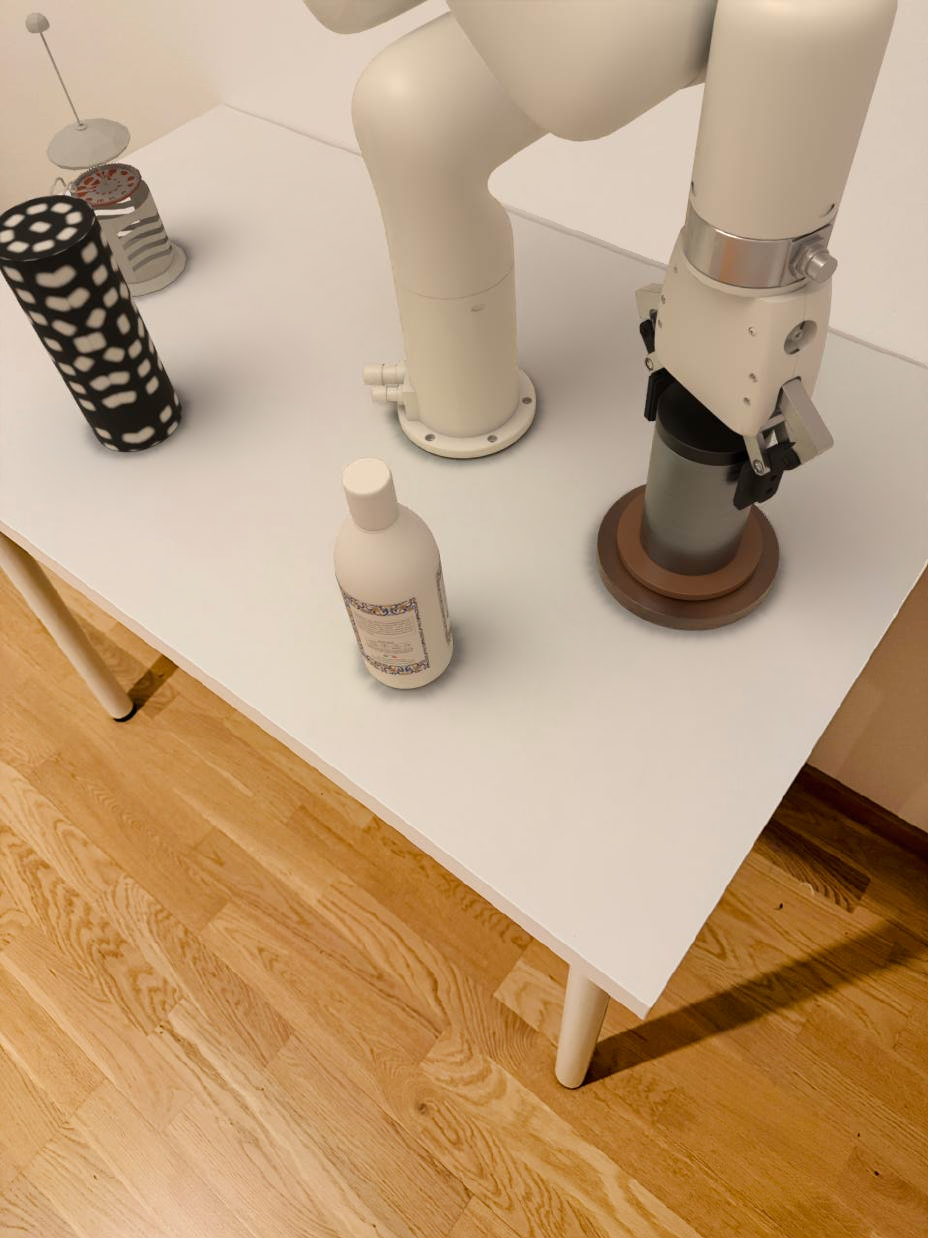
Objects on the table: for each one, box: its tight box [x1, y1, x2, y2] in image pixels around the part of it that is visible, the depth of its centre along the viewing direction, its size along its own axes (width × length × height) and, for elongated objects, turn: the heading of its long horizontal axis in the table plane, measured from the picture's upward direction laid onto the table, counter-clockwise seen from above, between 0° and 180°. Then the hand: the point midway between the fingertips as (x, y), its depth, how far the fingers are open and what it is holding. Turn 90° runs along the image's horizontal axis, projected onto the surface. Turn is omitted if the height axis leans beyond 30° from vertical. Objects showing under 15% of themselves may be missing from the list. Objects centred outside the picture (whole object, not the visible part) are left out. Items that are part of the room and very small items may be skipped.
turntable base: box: [595, 483, 781, 631], centre depth 71 cm, size 14×14×2 cm
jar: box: [617, 380, 775, 600], centre depth 65 cm, size 11×12×14 cm
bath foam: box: [333, 457, 454, 690], centre depth 61 cm, size 7×7×20 cm
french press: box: [24, 12, 187, 297], centre depth 87 cm, size 10×12×25 cm
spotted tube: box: [0, 194, 183, 453], centre depth 77 cm, size 8×8×20 cm
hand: (707, 453), depth 62 cm, fingers open, 9 cm apart
